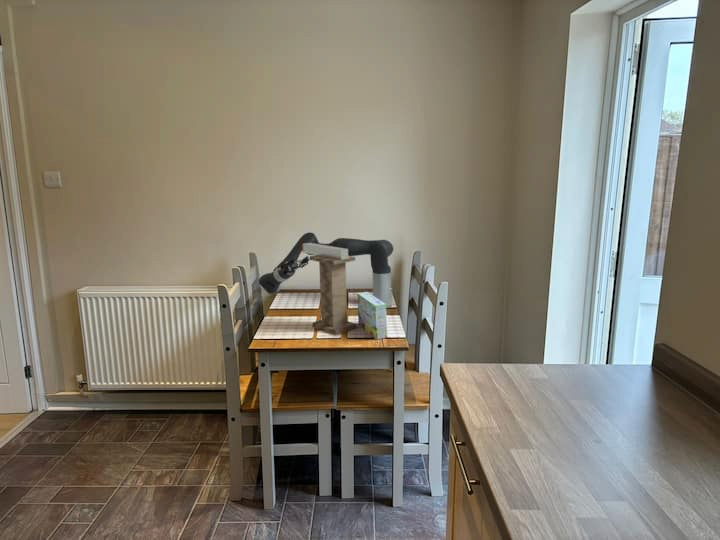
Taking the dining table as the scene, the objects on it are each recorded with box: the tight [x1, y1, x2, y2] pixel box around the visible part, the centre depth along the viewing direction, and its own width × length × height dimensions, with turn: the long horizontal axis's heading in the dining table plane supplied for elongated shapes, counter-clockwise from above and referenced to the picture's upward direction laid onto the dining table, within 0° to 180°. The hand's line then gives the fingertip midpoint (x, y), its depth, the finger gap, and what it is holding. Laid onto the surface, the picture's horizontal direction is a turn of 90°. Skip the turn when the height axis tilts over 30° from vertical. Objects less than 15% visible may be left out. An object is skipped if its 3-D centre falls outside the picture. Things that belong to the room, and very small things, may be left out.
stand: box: [309, 255, 358, 336], centre depth 210 cm, size 16×12×32 cm
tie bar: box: [302, 243, 348, 260], centre depth 210 cm, size 26×4×4 cm, turn 44°
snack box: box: [356, 291, 388, 341], centre depth 206 cm, size 21×6×15 cm, turn 21°
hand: (301, 259), depth 223 cm, fingers open, 8 cm apart
